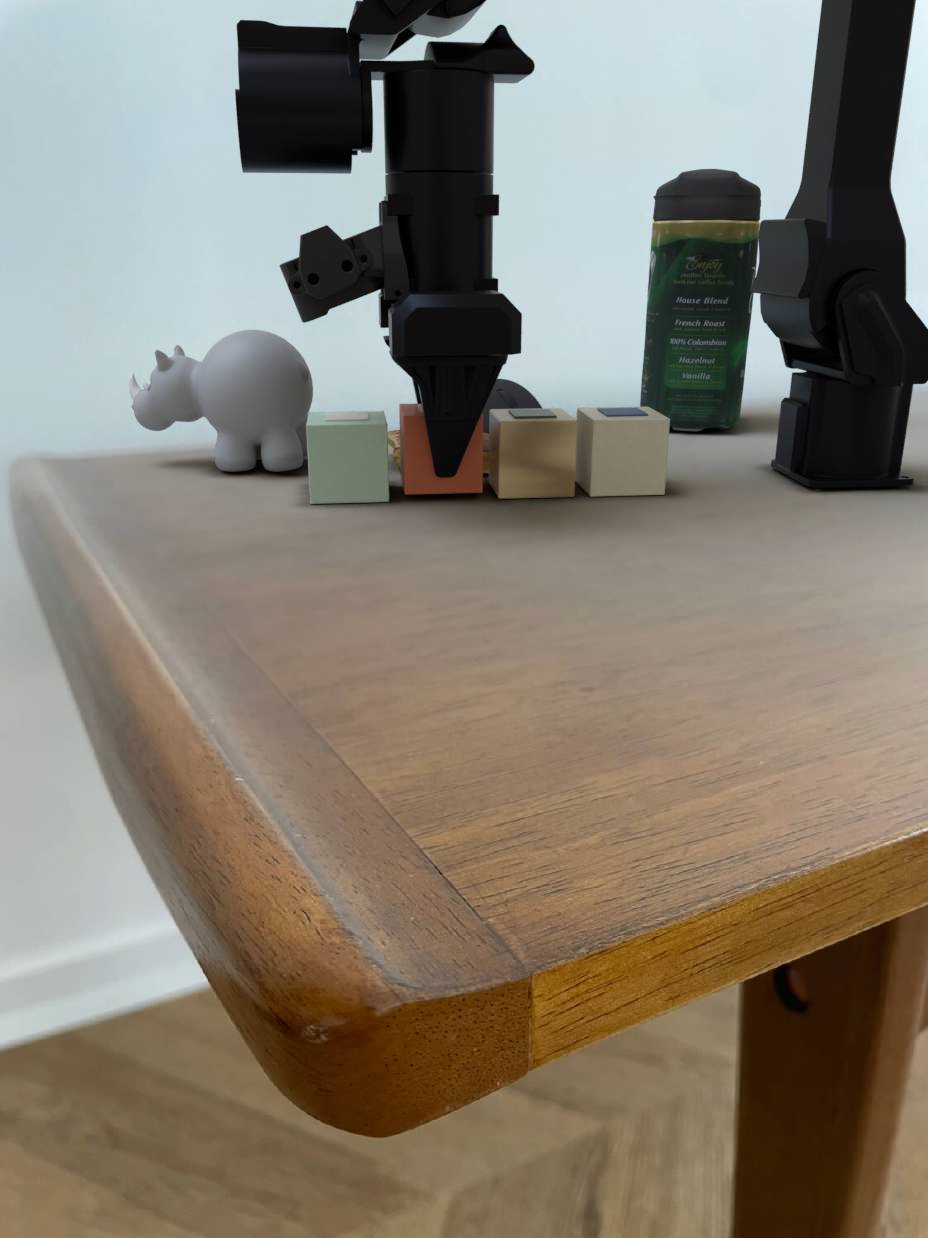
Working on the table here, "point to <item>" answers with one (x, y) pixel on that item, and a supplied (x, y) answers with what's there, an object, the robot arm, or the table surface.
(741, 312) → the coffee jar
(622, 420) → the row block
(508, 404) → the computer mouse
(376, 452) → the row block
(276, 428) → the toy rhinoceros
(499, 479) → the row block
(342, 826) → the table surface
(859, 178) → the robot arm
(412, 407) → the orange cube
